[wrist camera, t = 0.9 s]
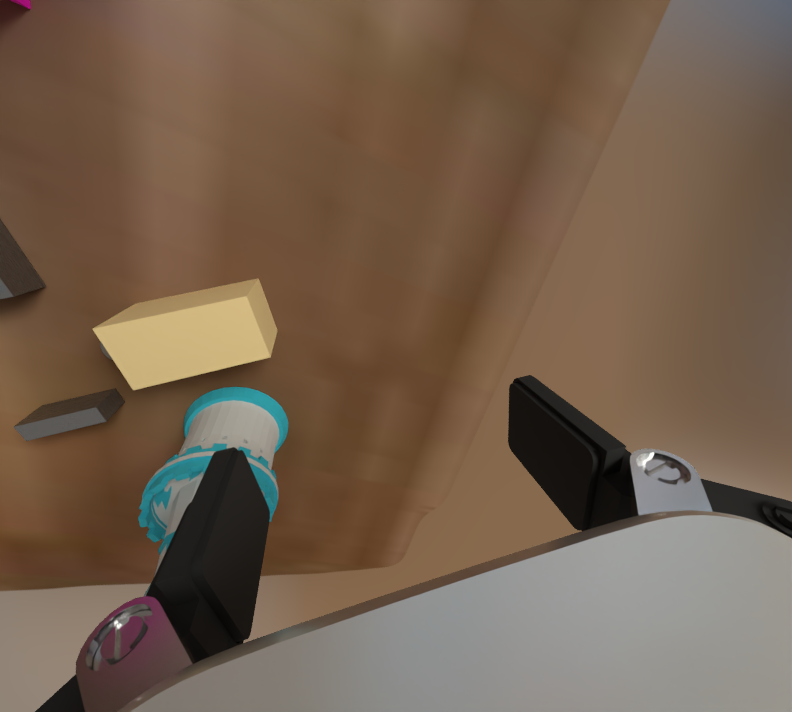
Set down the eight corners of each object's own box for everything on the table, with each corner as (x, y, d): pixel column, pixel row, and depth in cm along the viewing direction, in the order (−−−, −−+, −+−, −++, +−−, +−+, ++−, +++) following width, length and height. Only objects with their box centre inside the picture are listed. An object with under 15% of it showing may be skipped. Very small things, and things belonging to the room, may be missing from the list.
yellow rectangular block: (109, 308, 26) (58, 335, 21) (258, 278, 28) (246, 296, 22) (142, 361, 28) (103, 397, 23) (277, 330, 30) (270, 357, 25)
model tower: (179, 459, 33) (-320, 1427, 7) (189, 378, 30) (-713, 1677, 4) (277, 468, 37) (192, 1134, 10) (297, 395, 33) (242, 1121, 7)
